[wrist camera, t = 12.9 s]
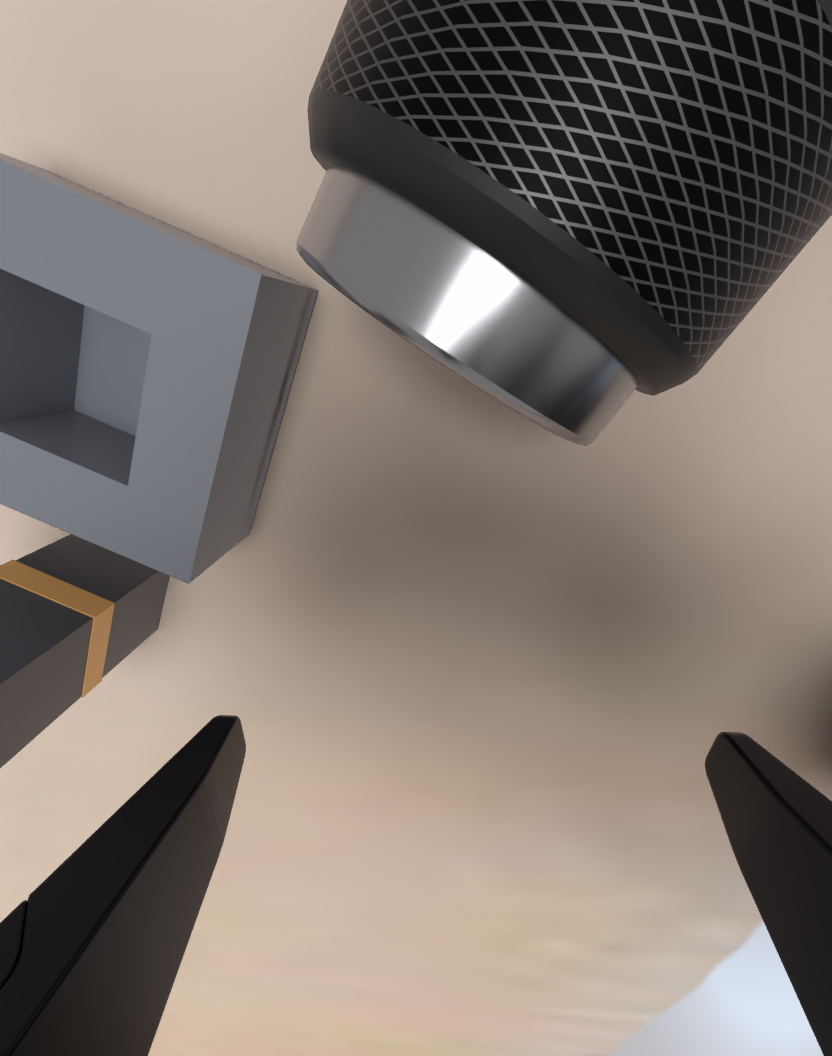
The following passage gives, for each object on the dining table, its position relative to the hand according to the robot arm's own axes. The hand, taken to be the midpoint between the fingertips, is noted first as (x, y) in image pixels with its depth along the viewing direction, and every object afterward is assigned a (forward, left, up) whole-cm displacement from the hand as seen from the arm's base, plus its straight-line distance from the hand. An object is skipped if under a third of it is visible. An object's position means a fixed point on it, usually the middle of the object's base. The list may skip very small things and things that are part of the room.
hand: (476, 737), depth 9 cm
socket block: (+9, +10, -11) cm, 17 cm away
